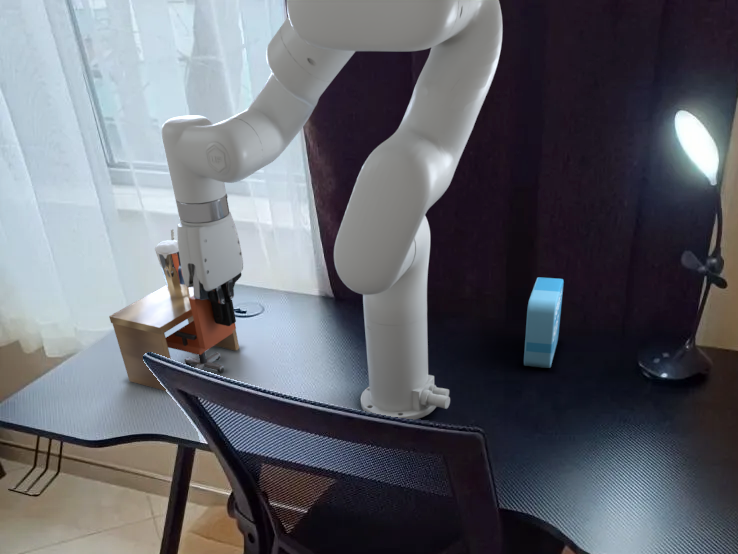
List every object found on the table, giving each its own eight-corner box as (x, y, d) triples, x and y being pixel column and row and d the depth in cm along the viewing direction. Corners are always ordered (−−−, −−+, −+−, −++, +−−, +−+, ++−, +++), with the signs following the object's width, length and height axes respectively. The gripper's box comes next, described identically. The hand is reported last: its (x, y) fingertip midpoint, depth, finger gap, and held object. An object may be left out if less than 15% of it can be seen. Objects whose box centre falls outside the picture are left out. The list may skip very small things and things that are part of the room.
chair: (244, 363, 140) (228, 279, 130) (211, 386, 134) (192, 300, 124) (203, 353, 144) (184, 271, 134) (169, 375, 137) (148, 291, 128)
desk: (240, 349, 144) (229, 286, 137) (176, 393, 132) (159, 327, 125) (194, 338, 149) (180, 276, 141) (128, 381, 137) (108, 316, 129)
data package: (549, 371, 133) (555, 304, 125) (523, 369, 134) (527, 302, 127) (558, 340, 142) (564, 275, 134) (533, 338, 143) (538, 274, 135)
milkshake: (197, 287, 137) (185, 229, 131) (188, 299, 133) (175, 240, 126) (172, 287, 137) (159, 229, 131) (162, 299, 133) (148, 240, 127)
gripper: (214, 192, 124) (235, 302, 136) (150, 221, 115) (178, 337, 126) (252, 197, 122) (270, 309, 133) (190, 227, 112) (215, 346, 123)
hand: (225, 322), depth 130 cm, fingers closed
